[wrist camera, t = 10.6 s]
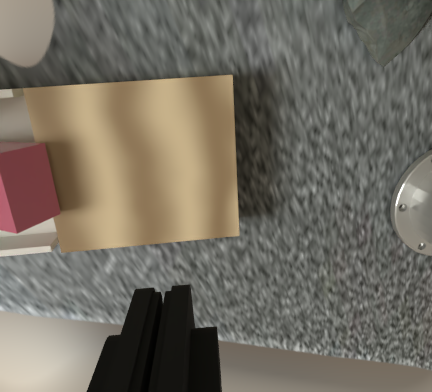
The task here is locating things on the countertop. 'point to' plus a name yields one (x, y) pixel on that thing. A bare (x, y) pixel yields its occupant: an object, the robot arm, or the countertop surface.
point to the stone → (387, 24)
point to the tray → (22, 132)
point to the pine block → (139, 160)
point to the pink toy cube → (25, 186)
